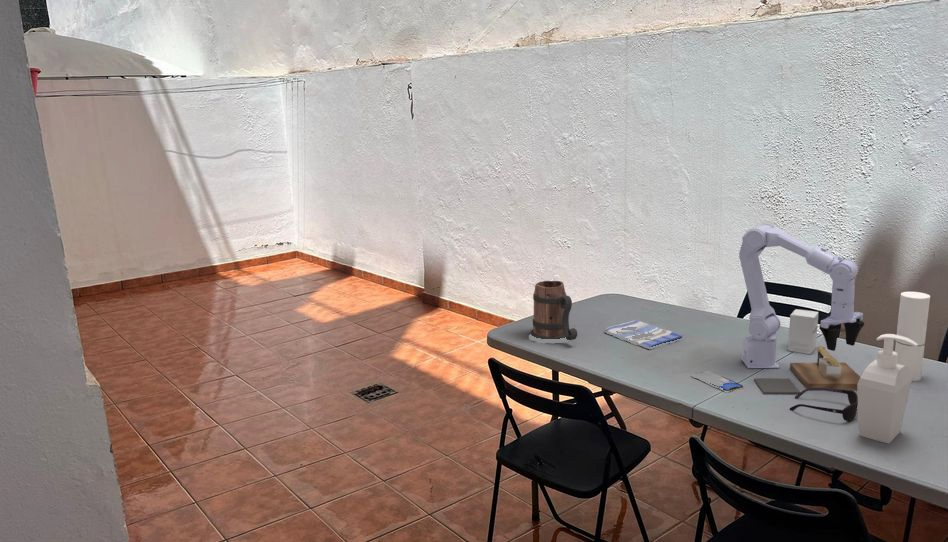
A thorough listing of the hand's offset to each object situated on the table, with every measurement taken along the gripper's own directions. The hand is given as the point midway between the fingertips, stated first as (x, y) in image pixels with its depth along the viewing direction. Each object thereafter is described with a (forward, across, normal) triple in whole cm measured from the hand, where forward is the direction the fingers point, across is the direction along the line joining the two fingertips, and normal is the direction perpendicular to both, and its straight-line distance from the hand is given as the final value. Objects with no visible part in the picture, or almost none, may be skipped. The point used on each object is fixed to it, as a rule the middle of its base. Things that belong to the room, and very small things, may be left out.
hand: (840, 347), depth 202 cm
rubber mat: (+10, -18, +6) cm, 22 cm away
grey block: (+8, -2, +2) cm, 9 cm away
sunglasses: (+11, -19, -11) cm, 25 cm away
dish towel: (+9, -25, +61) cm, 67 cm away
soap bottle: (+11, -18, -28) cm, 35 cm away
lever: (+4, -1, +3) cm, 5 cm away
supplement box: (+10, +12, +24) cm, 29 cm away
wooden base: (+10, -2, +3) cm, 11 cm away
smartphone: (+10, -30, +17) cm, 36 cm away
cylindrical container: (+11, +19, -7) cm, 23 cm away
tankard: (+8, -53, +75) cm, 92 cm away
